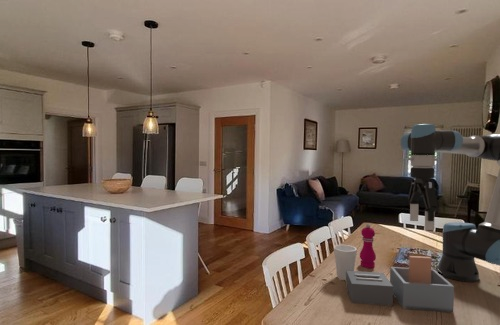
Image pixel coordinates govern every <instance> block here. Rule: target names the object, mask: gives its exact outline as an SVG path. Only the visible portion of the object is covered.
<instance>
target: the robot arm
mask: <svg viewBox="0 0 500 325" xmlns="http://www.w3.org/2000/svg"><path fill="white" fill-rule="evenodd" d="M400 146H401V148H402V149H403V150H405V151H410V157H409V161H410V166H411V167H410V173H409V174H410V178H411V179H410V180H411V181H410V187H409V192H408V197H407V201H408V202H409V205H410V206H409V208H410V209H409V221H410V222H419V204H420V202H419V199H420V197H421V196H422V199H423V204H424V207H425V209H424V230H425V231H435V213H436V211H437V212H438V211H439V206H438V201H437V194H436V190H435V182H434V181H430V179H434V178H435V168H434V167H435V166H436V165H435V163H436V156H435V155H436V153H441V154H442V153H443V154H456V155H466V156H467V157H469V158H477V159H483V160H489V161H496V163H497V164H498V166H499V167H500V133H494V134H486V135H470V136H468V137H467V136H463V135H462V134H461V133H460V132H459V131H458V130H452V129H448V130H445V129H444V130H443V129H441V130H439V129H438V130H436V126H435V124H434V123H422V124H421V123H419V124H414V125H412V127H411V132H408V133H404V134H403V135H402V136H401V138H400ZM442 229H443V230H442V255H441V258H440V259H439V262H438V263H437V264H438V265H437V270H438V269H439V270H440V271H441V272H442V274H443V275H442V277H444V278H448V279H451V280H454V281H459V282H467V283H470V282H471V283H473V282H478V281H479V279H480V273H479V270H478V267H477V264H476V260H475V259H478V260H481V261H484V262H487V263H489V264H490V265H491V264H492V265H496V266H499V267H500V168H499V170H498V172H497V177H496V180H495V183H494V188H493V191H492V193H491V198H490V200H489V204H488V208H487V211H486V216H485V219H484V221H483V222H481V223H479V224H478V225H477V226H476V224H475V223H471V222H470V223H469V222H446V223H445V224H444V225H443V228H442Z"/></svg>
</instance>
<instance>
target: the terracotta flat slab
mask: <svg viewBox="0 0 500 325" xmlns="http://www.w3.org/2000/svg"><path fill="white" fill-rule="evenodd" d="M408 268H409V282H411V283H427V284H431V269H432V257H430V256H423V255H422V256H419V255H408Z"/></svg>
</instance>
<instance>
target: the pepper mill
mask: <svg viewBox="0 0 500 325" xmlns="http://www.w3.org/2000/svg"><path fill="white" fill-rule="evenodd" d="M360 233H361V235H362V241H363V246H362V248H361V250H360V253H359V258H360V265H361V267H363V268H366V269H372V268H375V261H376V258H377V256H376V252H375V250H374V248H373V242H374V239H375V238H374V237H375V235H376V231H375V229H374V228H372V227H371V225H370V224H366V225H365V227H363V228H362V229H361V232H360Z"/></svg>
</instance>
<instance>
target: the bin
mask: <svg viewBox="0 0 500 325" xmlns="http://www.w3.org/2000/svg"><path fill="white" fill-rule="evenodd" d="M389 267H390V268H389V270H390V271H389V281H390V283H391V284H392V286H393V297H394V298H395V299H396V301H397V302H398V304H399V305H400V306H401V308H402V309H404V310H415V311H429V312H430V311H431V312H439V313H440V312H444V313H454V305H455V303H454V302H455V301H454V300H455V286H454V285H453V284H452V283H451V282H449V280H448V279H446V277H445V276H443V275H441V274H439V273H438V270H436V269H434V268H431V284H427V283H411V282H409V267H403V266H402V267H398V266H389Z"/></svg>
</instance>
